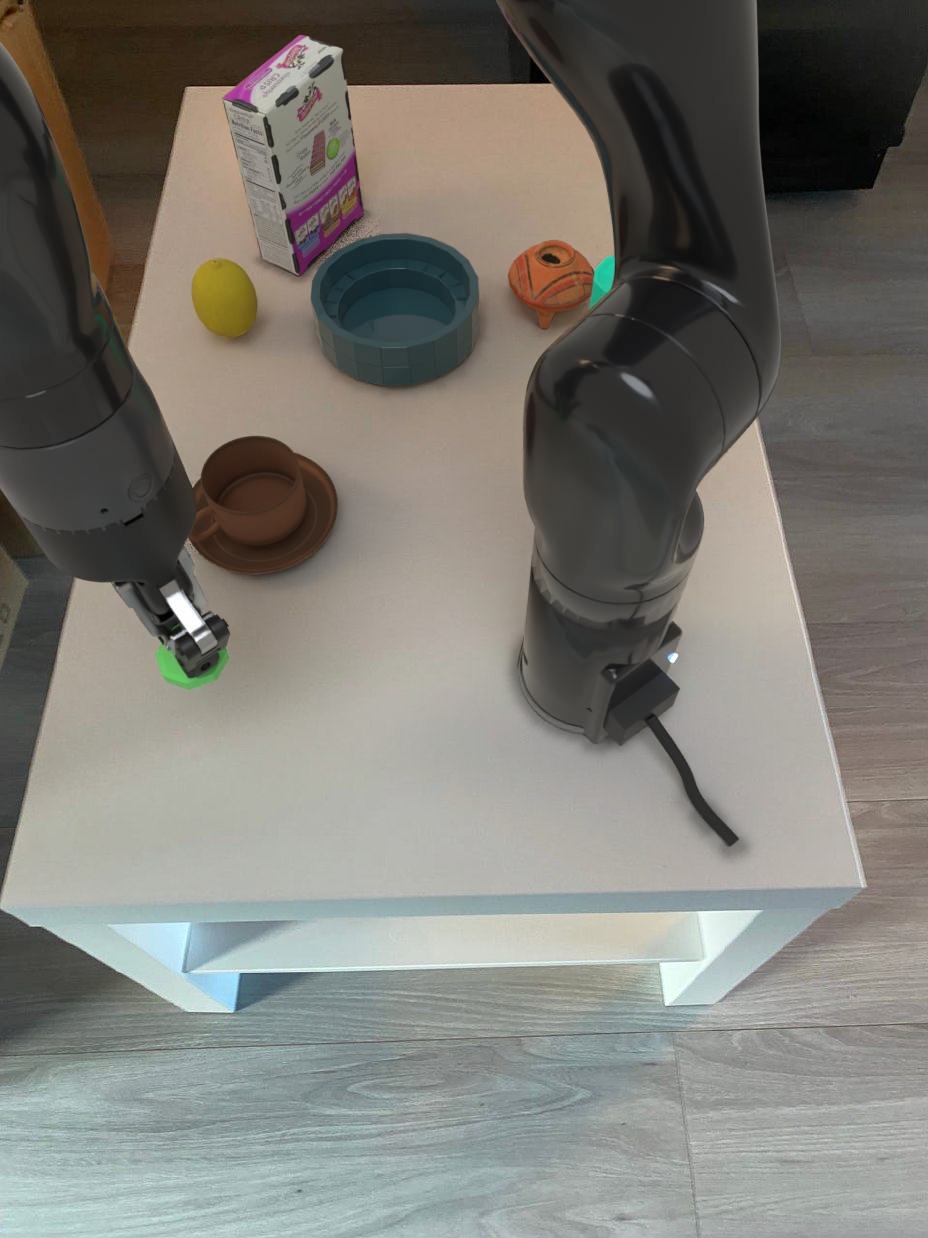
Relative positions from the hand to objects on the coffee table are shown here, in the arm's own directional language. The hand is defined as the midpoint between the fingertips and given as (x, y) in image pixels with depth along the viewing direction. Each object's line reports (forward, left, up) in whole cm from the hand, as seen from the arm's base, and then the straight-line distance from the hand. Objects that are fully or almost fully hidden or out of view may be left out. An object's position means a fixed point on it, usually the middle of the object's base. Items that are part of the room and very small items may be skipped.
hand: (190, 650), depth 57 cm
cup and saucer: (+14, -11, -12) cm, 21 cm away
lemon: (+34, -20, -12) cm, 41 cm away
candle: (+9, -44, -12) cm, 47 cm away
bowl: (+25, -32, -11) cm, 42 cm away
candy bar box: (+41, -33, -12) cm, 54 cm away
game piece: (0, 0, -1) cm, 1 cm away
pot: (+19, -45, -12) cm, 50 cm away
